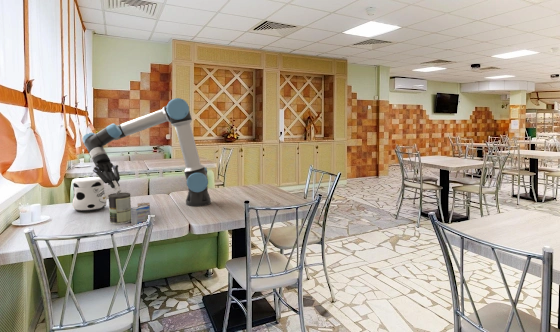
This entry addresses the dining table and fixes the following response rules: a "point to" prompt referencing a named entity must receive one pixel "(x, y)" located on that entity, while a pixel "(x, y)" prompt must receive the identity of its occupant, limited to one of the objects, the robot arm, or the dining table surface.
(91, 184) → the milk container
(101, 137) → the robot arm
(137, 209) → the medicine box
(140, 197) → the dining table surface
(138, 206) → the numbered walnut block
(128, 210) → the coffee can
